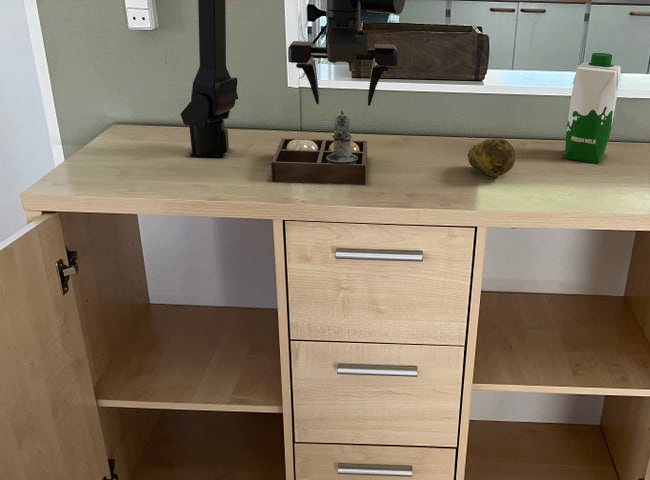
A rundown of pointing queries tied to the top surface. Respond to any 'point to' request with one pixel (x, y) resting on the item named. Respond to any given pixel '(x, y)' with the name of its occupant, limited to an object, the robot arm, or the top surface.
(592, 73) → the milk carton
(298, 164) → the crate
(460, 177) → the top surface
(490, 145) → the potato
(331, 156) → the grey chess piece
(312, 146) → the cream egg
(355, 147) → the brown egg
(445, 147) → the top surface
